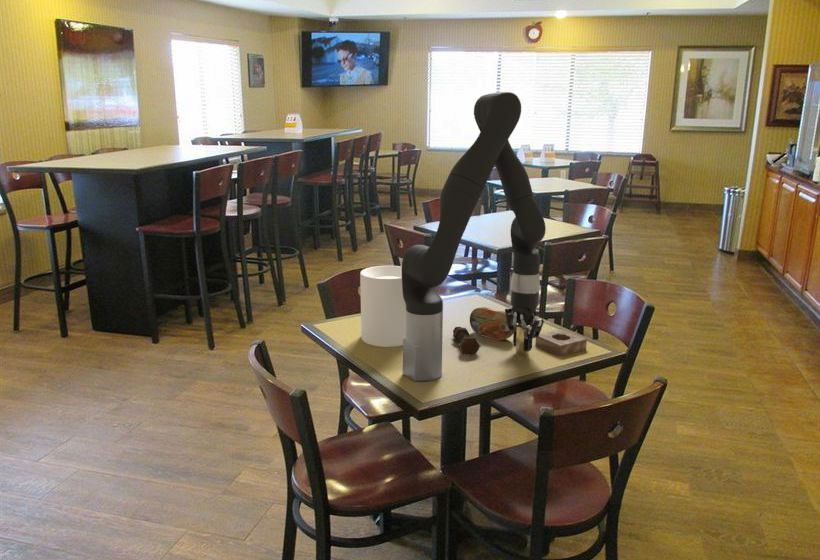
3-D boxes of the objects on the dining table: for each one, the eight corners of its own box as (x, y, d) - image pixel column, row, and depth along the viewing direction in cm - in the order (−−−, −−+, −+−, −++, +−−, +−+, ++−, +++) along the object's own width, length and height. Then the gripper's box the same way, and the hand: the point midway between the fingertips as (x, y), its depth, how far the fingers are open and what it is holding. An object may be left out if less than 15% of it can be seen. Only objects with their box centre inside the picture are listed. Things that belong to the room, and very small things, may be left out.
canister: (369, 349, 185) (368, 281, 180) (355, 331, 200) (354, 267, 195) (422, 343, 190) (423, 276, 185) (405, 326, 205) (405, 264, 200)
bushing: (521, 357, 180) (522, 329, 178) (512, 353, 183) (513, 325, 181) (531, 354, 182) (532, 327, 180) (522, 350, 185) (524, 323, 183)
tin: (468, 331, 200) (469, 305, 198) (474, 329, 203) (475, 303, 200) (509, 343, 190) (510, 315, 188) (515, 341, 193) (517, 313, 191)
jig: (560, 355, 181) (560, 345, 180) (535, 344, 189) (535, 335, 188) (586, 349, 186) (586, 339, 185) (561, 338, 194) (561, 329, 193)
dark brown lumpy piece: (460, 343, 196) (472, 359, 182) (446, 335, 195) (457, 352, 181) (470, 326, 196) (483, 342, 181) (455, 319, 194) (467, 334, 180)
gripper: (497, 284, 181) (495, 343, 186) (532, 296, 170) (529, 359, 174) (518, 280, 185) (516, 338, 190) (553, 292, 174) (550, 353, 178)
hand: (522, 348), depth 182 cm, fingers closed on bushing, 3 cm apart
